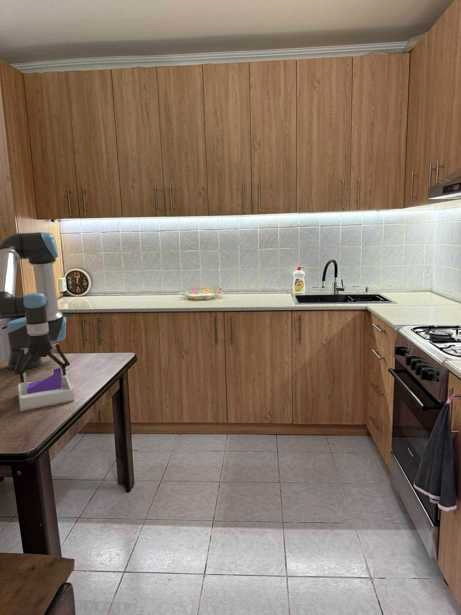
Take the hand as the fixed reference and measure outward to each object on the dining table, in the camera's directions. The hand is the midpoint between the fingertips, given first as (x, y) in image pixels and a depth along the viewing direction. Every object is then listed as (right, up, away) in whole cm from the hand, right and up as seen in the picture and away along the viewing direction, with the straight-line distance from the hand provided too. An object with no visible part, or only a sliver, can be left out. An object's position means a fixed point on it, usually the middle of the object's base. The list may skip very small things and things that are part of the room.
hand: (44, 386), depth 173 cm
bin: (0, -4, +1) cm, 5 cm away
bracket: (0, -1, 0) cm, 1 cm away
